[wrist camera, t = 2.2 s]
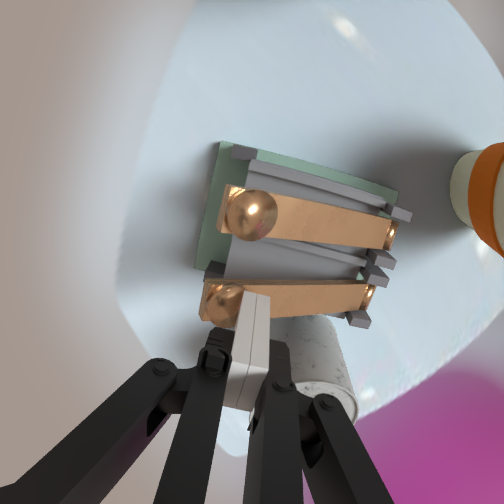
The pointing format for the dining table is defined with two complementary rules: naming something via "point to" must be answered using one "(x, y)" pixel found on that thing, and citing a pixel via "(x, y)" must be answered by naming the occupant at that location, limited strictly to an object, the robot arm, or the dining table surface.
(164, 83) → the dining table surface
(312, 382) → the gray concrete cylinder
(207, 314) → the strap
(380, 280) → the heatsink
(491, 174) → the reusable coffee cup
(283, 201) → the strap
